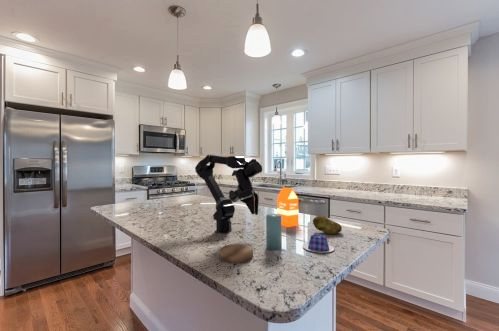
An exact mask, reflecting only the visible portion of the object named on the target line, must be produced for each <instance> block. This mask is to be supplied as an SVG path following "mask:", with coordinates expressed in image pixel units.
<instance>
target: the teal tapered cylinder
mask: <svg viewBox="0 0 499 331" xmlns="http://www.w3.org/2000/svg"><path fill="white" fill-rule="evenodd" d="M265 217H266V218H265V223H266V224H265V226H266V228H265V230H266V231H265V240H266V242H265V243H266V244H265V245H266V250H268V251H270V252H271V251H272V252H277V250H278V251H281V250H282V236H283V234H282V227H283V225H282V216H281V215H280V214H277V213H268V214H266V216H265Z"/></svg>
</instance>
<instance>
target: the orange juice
mask: <svg viewBox="0 0 499 331" xmlns="http://www.w3.org/2000/svg"><path fill="white" fill-rule="evenodd" d="M276 198H277V199H276V200H277V201H276V202H277V203H276V204H277V205H276V206H277V208H276V210H277V212H276V214H280V215H281V216H282V227H283V226H284V227H286V228H291V227H296V226H299V211H300V210H299V197H298V195H297V193H296V192H295V190H294V188H291V187H286V186H285V187H282V188H281V190H280V192H279V194H278V195H277V197H276Z"/></svg>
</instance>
